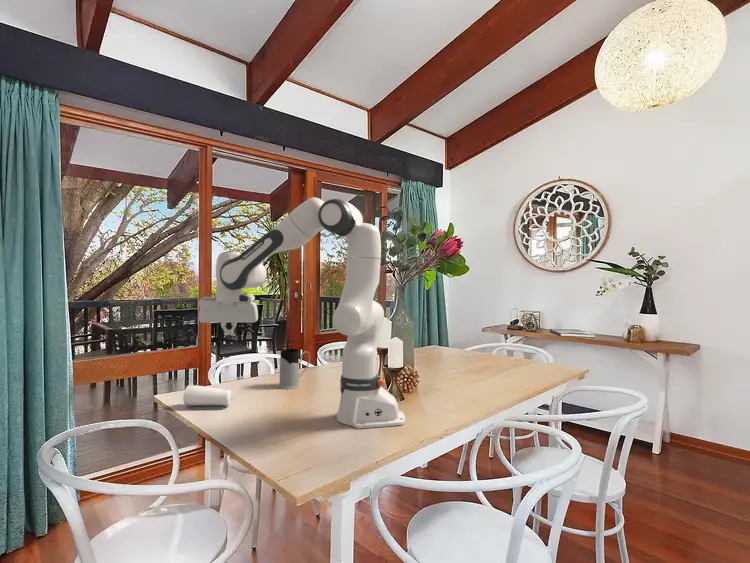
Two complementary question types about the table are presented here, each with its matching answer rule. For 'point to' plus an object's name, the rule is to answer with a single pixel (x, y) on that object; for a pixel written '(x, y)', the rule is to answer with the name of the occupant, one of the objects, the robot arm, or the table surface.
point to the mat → (209, 407)
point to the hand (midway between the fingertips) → (228, 335)
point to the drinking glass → (206, 396)
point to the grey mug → (290, 368)
